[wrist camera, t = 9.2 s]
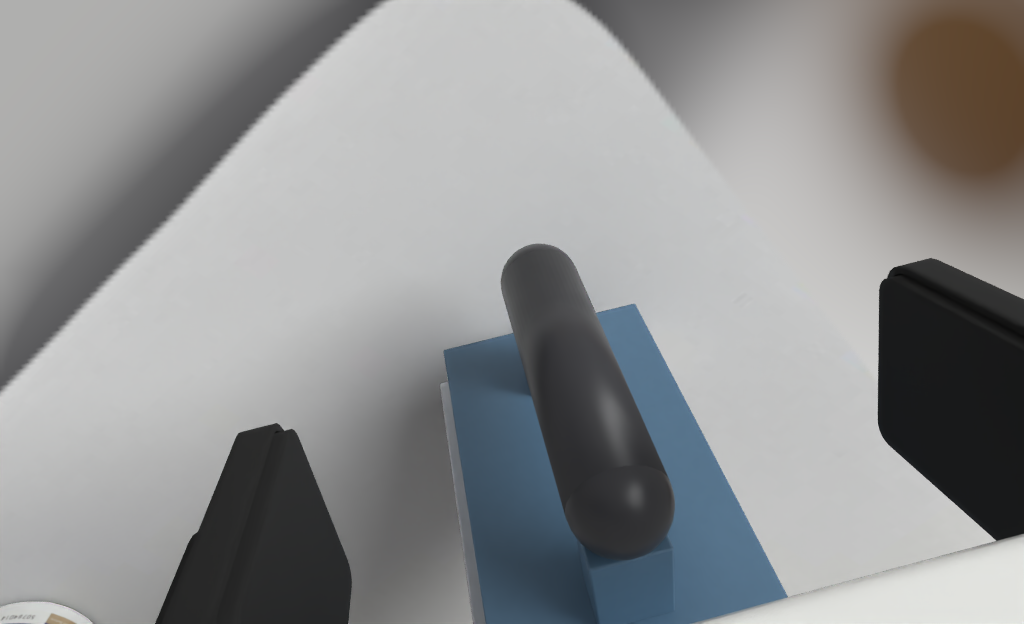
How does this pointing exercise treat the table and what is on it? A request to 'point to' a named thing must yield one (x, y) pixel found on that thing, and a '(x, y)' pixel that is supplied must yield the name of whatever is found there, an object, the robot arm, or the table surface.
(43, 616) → the pill bottle
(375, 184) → the table surface
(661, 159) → the table surface
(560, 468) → the scrub brush
